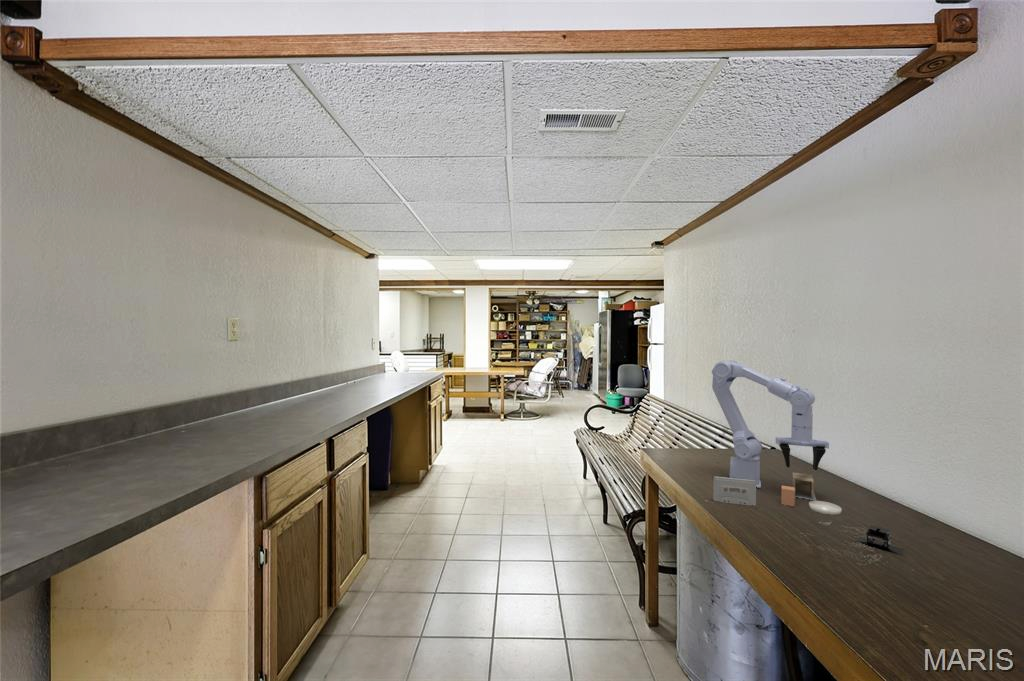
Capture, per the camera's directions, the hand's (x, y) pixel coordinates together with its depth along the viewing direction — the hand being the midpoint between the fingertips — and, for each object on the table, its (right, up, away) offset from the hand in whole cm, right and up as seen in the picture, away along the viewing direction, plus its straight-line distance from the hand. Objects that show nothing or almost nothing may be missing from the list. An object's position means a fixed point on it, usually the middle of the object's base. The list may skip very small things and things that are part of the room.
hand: (801, 467), depth 144 cm
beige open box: (+1, -9, +1) cm, 9 cm away
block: (-8, -9, -7) cm, 14 cm away
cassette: (-25, -10, -6) cm, 27 cm away
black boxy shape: (-3, -10, -34) cm, 35 cm away
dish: (0, -9, -11) cm, 15 cm away
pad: (+1, -9, +1) cm, 9 cm away
